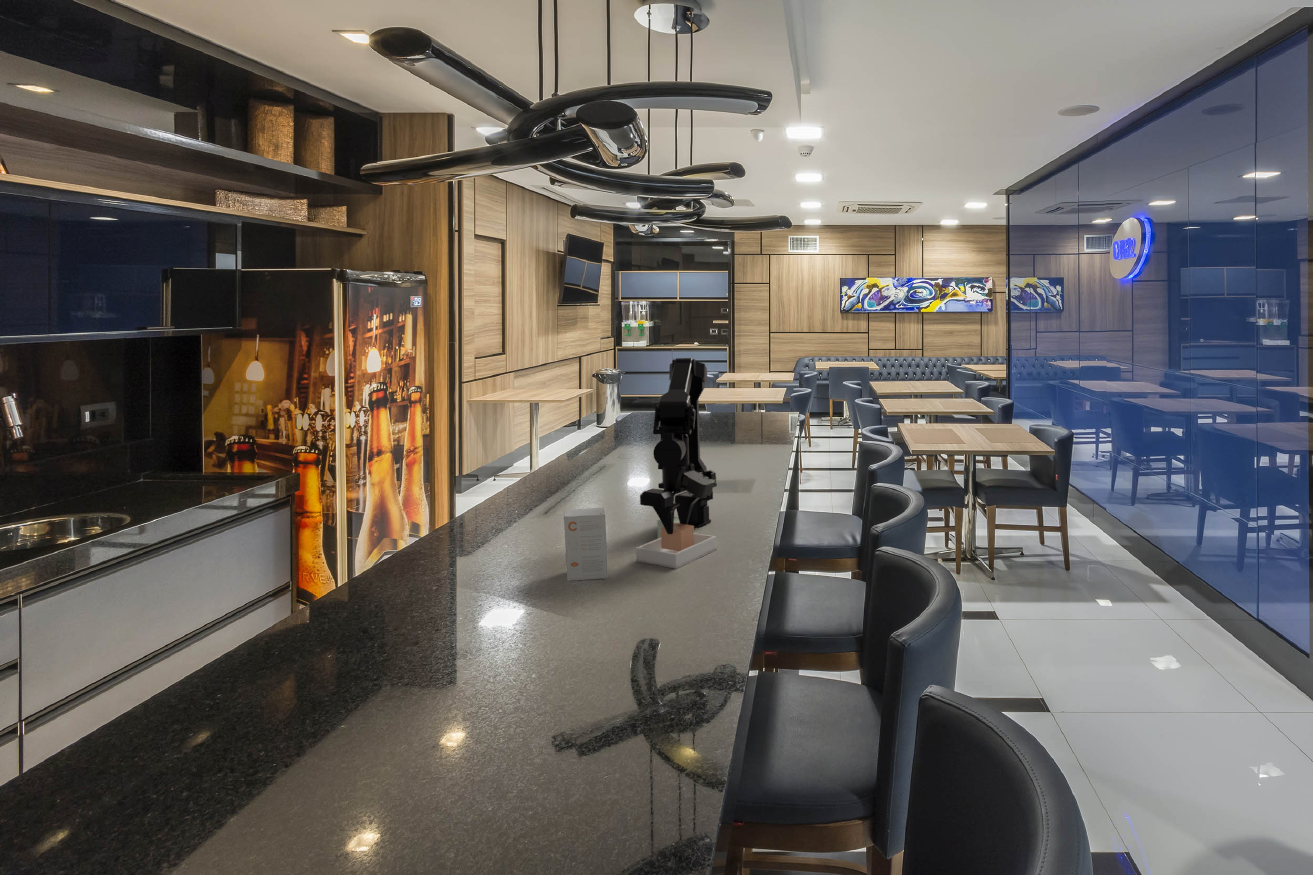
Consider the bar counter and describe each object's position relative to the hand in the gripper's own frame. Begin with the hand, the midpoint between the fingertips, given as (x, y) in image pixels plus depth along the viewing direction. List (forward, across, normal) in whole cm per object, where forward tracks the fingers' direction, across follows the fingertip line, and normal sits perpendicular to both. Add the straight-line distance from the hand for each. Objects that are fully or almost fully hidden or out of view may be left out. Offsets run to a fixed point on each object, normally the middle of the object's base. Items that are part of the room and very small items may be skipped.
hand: (677, 531), depth 174 cm
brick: (+4, 0, 0) cm, 4 cm away
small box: (+6, -21, +8) cm, 23 cm away
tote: (+5, 0, 0) cm, 5 cm away
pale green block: (+6, +11, +9) cm, 16 cm away
